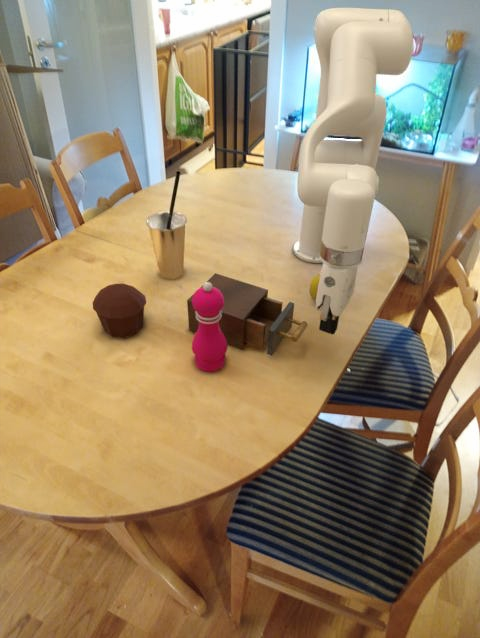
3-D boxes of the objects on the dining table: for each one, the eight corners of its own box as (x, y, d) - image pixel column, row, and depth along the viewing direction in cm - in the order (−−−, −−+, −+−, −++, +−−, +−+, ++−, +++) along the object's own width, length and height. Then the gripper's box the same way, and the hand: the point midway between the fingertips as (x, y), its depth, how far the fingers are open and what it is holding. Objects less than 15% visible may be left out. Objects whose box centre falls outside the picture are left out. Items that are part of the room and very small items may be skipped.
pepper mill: (192, 350, 102) (187, 272, 89) (226, 349, 102) (226, 271, 90) (192, 374, 96) (187, 295, 83) (228, 373, 96) (228, 293, 84)
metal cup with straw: (188, 287, 120) (179, 172, 101) (146, 282, 121) (129, 168, 102) (199, 265, 128) (193, 155, 109) (159, 260, 130) (147, 151, 111)
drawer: (309, 333, 105) (313, 308, 101) (290, 362, 98) (293, 338, 94) (243, 310, 111) (243, 287, 107) (220, 337, 104) (219, 312, 100)
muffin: (158, 318, 110) (154, 283, 104) (131, 347, 102) (125, 311, 96) (116, 305, 114) (110, 270, 107) (87, 332, 106) (78, 296, 99)
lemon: (332, 297, 117) (336, 270, 112) (327, 310, 113) (332, 283, 108) (310, 293, 119) (314, 266, 114) (305, 305, 115) (309, 278, 110)
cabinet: (266, 319, 110) (268, 289, 105) (242, 350, 102) (243, 319, 96) (215, 302, 115) (215, 273, 110) (188, 330, 107) (186, 300, 101)
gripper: (349, 276, 77) (333, 358, 89) (373, 238, 88) (356, 316, 99) (306, 264, 80) (296, 345, 91) (335, 228, 90) (322, 305, 102)
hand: (327, 330), depth 95 cm, fingers closed
